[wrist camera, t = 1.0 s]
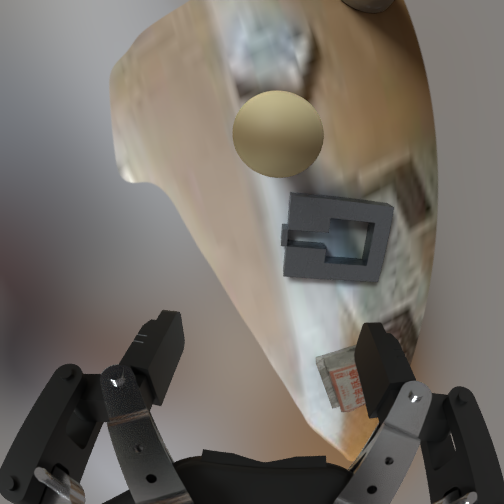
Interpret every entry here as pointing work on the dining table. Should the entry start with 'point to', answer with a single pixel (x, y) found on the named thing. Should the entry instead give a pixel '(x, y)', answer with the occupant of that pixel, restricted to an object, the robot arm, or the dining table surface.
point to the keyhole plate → (318, 220)
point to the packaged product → (341, 379)
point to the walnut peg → (278, 134)
